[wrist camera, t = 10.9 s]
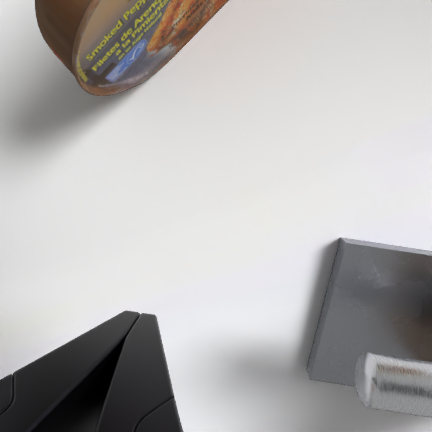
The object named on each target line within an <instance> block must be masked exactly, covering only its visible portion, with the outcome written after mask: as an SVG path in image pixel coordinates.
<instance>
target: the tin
mask: <svg viewBox="0 0 432 432" xmlns="http://www.w3.org/2000/svg"><path fill="white" fill-rule="evenodd" d="M227 1H228V0H35V11H36V18H37V22H38V26H39V29H40V31H41V34H42V36H43V38H44V40H45V41H46V43H47V44H48V46H49V47H50V49H51V50H52V51H53V52H54V54H55V55H56V56H57V57H58V58H59V59H60V60H61V61H62V63H63V64H64V65H65V66H66V67H67V68H68V69H69V70H70V71H71V73H72V74H73V75H74V76H75V78H76V80H77V82H78V83H79V85H80V86H81V87H82V88H83V89H84V90H85V91H86V92H88V93H90V94H93V95H97V96H107V95H113V94H116V93H120V92H123V91H125V90H128V89H130V88H132V87H134V86H136V85H138V84H140V83H142V82H143V81H145V80H147V79H148V78H149V77H151V76H152V75H153V74H155V73H156V72H157V71H158V70H160V69H161V68H162V67H163V66H164V65H165V64H166V63H168V62H169V61H170V60H171V59H172V58H173V57H174V56H175V55H176V54H177V53H178V52H179V51H180V50H181V49H182V48H183V47H184V46H185V45H186V44H187V43H188V42H189V41H190V39H191V38H192V37H193V36H194V35H195V34H196V33H197V32H198V31H199V30H200V29H201V28H202V27H203V26H204V25H205V24H206V23H207V22H208V21H209V20H210V19H211V18H212V17H213V16H214V15H215V14H216V13H217V12H218V11H219V10H220V9H221V7H222V6H223V5H224V4H225V3H226V2H227Z"/></svg>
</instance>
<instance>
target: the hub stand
mask: <svg viewBox="0 0 432 432" xmlns="http://www.w3.org/2000/svg"><path fill="white" fill-rule="evenodd" d="M307 372H308V374H309V377H310V380H317V381H324V382H330V383H337V384H344V385H350V386H356V388H357V392H358V395H359V398H360V400H361V402H362V403H363V405H364V406H366V407H367V408H371V409H378V410H385V411H391V412H398V413H405V414H412V415H418V416H425V417H432V251H426V250H419V249H413V248H406V247H399V246H393V245H386V244H379V243H373V242H366V241H360V240H353V239H346V238H340V242H339V246H338V250H337V254H336V258H335V262H334V265H333V269H332V273H331V277H330V281H329V285H328V289H327V292H326V296H325V300H324V304H323V308H322V312H321V316H320V319H319V323H318V327H317V331H316V335H315V339H314V343H313V347H312V350H311V354H310V358H309V362H308V366H307Z"/></svg>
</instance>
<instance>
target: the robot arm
mask: <svg viewBox="0 0 432 432" xmlns="http://www.w3.org/2000/svg"><path fill="white" fill-rule="evenodd" d="M0 432H183V429H182V426H181V422H180V418H179V415H178V410H177V406H176V402H175V399H174V393H173V389H172V384H171V380H170V375H169V371H168V366H167V362H166V357H165V353H164V349H163V344H162V340H161V335H160V331H159V326H158V322H157V317H156V316H155V315H152V314H146V313H142V314H141V315H140V313H138V312H132V311H124V312H122V313H120V314H118V315H117V316H115V317H113V318H111V319H109V320H108V321H106V322H104V323H102V324H100V325H98V326H97V327H95V328H93V329H91V330H89V331H88V332H86V333H84V334H82V335H80V336H79V337H77V338H75V339H73V340H71V341H70V342H68V343H66V344H64V345H62V346H61V347H59V348H57V349H55V350H53V351H52V352H50V353H48V354H46V355H44V356H43V357H41V358H39V359H37V360H35V361H34V362H32V363H30V364H28V365H26V366H25V367H23V368H21V369H19V370H17V371H16V372H14V373H13V375H12V374H10V375H8V376H6V377H4V378H3V379H1V380H0Z"/></svg>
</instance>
